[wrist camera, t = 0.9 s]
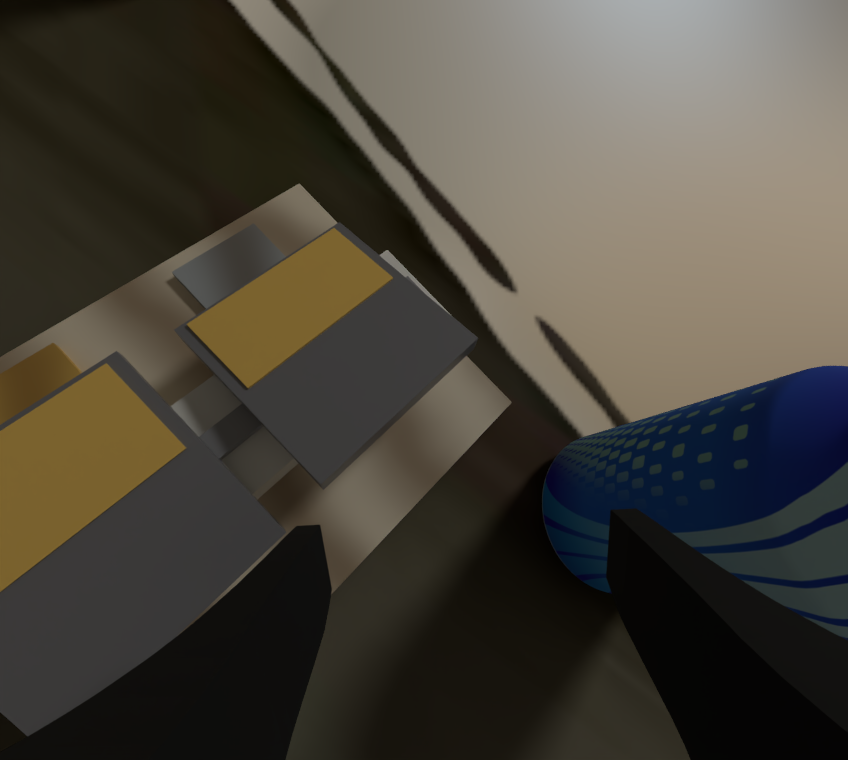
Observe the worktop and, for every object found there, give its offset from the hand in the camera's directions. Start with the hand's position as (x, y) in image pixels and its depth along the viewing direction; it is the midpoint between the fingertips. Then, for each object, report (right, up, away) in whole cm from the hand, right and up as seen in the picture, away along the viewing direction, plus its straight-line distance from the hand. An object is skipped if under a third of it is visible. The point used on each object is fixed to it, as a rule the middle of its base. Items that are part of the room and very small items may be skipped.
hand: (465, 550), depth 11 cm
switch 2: (-5, +6, +9) cm, 12 cm away
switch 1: (-13, -1, +4) cm, 13 cm away
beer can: (+9, -3, +15) cm, 18 cm away
